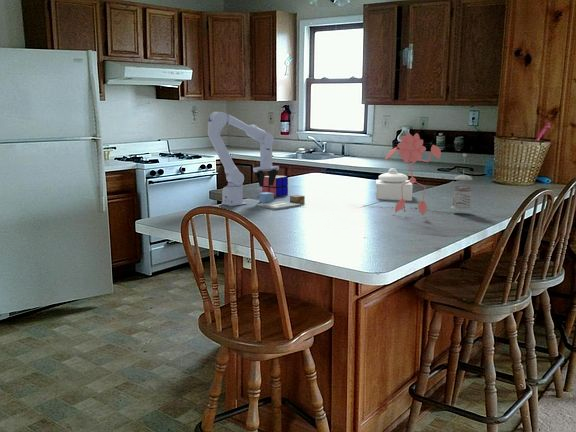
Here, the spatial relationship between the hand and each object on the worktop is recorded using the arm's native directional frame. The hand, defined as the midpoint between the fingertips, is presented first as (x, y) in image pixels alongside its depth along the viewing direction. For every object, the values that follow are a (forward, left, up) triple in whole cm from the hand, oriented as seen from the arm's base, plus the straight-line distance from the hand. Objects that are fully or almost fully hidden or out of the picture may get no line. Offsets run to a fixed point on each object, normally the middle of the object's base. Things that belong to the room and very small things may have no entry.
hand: (266, 185), depth 279 cm
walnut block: (+10, -11, -9) cm, 17 cm away
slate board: (-2, -11, -8) cm, 14 cm away
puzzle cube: (+20, +17, -9) cm, 28 cm away
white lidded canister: (+57, -33, -9) cm, 66 cm away
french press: (+58, -70, -9) cm, 91 cm away
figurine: (+25, -65, -9) cm, 70 cm away
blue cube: (0, 0, -8) cm, 8 cm away
